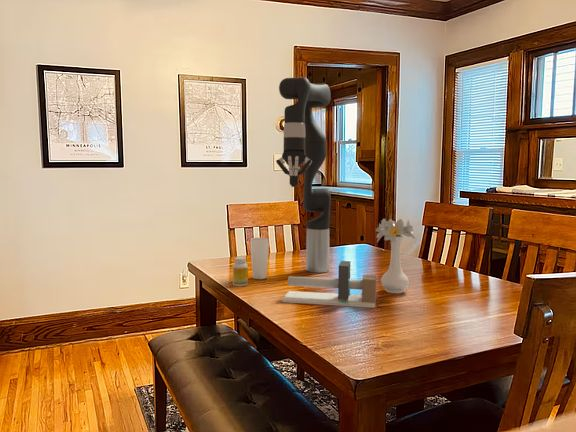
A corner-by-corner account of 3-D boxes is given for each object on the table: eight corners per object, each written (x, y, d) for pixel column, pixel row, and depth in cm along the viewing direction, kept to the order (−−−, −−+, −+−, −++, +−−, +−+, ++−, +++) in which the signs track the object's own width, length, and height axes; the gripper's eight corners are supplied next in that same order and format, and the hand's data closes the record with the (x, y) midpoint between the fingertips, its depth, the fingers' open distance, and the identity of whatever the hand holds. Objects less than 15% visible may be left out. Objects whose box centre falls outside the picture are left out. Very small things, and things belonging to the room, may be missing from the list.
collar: (338, 299, 153) (338, 265, 152) (340, 292, 161) (341, 260, 160) (347, 299, 152) (348, 266, 151) (349, 293, 160) (350, 261, 159)
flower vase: (402, 284, 179) (404, 215, 177) (421, 297, 161) (423, 221, 159) (367, 284, 178) (368, 215, 176) (382, 298, 160) (384, 221, 157)
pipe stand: (282, 302, 155) (282, 276, 154) (288, 293, 166) (289, 269, 165) (374, 307, 149) (375, 281, 148) (375, 298, 160) (376, 273, 159)
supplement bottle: (230, 283, 178) (230, 257, 177) (244, 282, 181) (244, 256, 180) (235, 287, 174) (235, 260, 173) (250, 285, 176) (250, 258, 175)
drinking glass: (266, 280, 183) (266, 240, 182) (248, 279, 185) (248, 239, 183) (270, 276, 190) (270, 237, 188) (253, 275, 191) (253, 237, 190)
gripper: (273, 136, 170) (273, 186, 171) (311, 136, 167) (311, 187, 169) (278, 137, 177) (277, 186, 179) (314, 137, 174) (314, 186, 176)
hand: (294, 186), depth 174 cm, fingers closed
